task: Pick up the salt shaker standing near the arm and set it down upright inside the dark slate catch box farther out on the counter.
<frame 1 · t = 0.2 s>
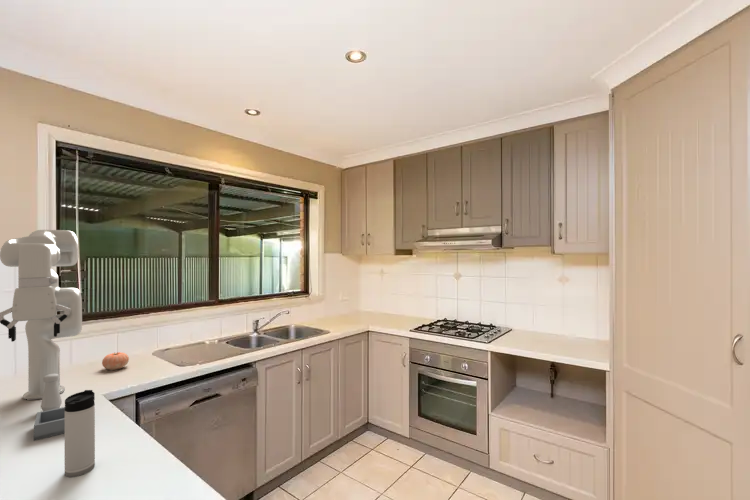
hand: (35, 338, 115), 31 cm above the counter, tool pointing down, fingers open, 9 cm apart
catch box: (60, 427, 121), on the counter
orange pumpkin: (115, 369, 181), on the counter
travel mug: (80, 470, 98), on the counter
salt shaker: (51, 410, 134), on the counter
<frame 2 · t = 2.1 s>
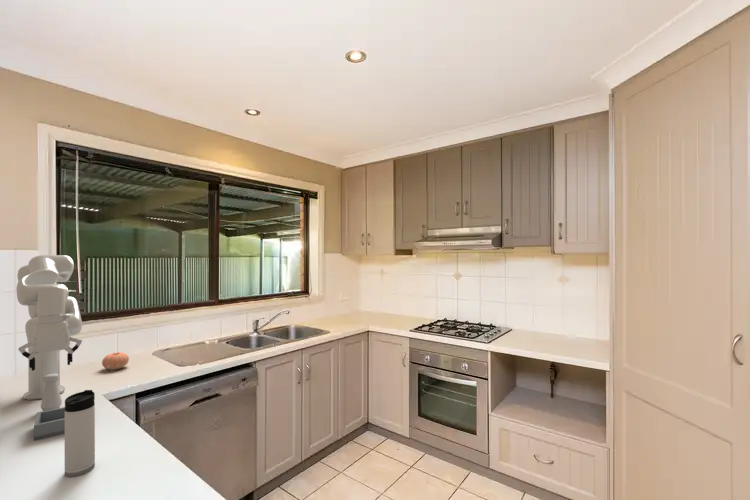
hand: (51, 366, 134), 16 cm above the counter, tool pointing down, fingers open, 9 cm apart
nothing on the counter moved.
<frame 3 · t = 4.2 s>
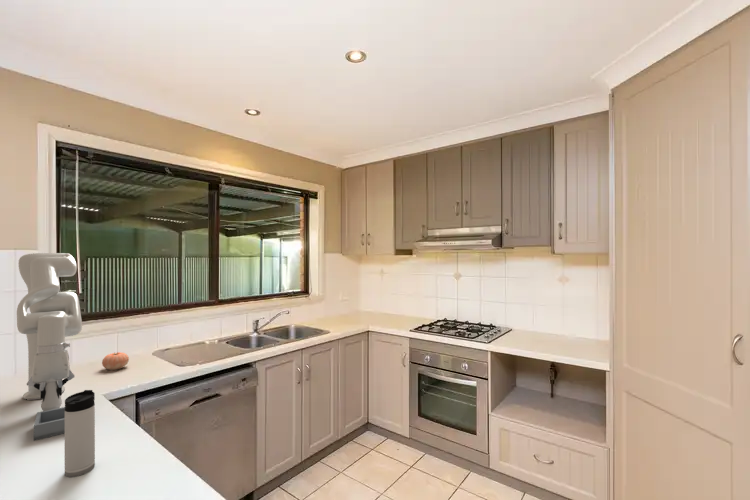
hand: (51, 398, 134), 4 cm above the counter, tool pointing down, fingers closed on salt shaker, 3 cm apart
salt shaker: (51, 410, 134), on the counter, touching gripper
everything else where it was.
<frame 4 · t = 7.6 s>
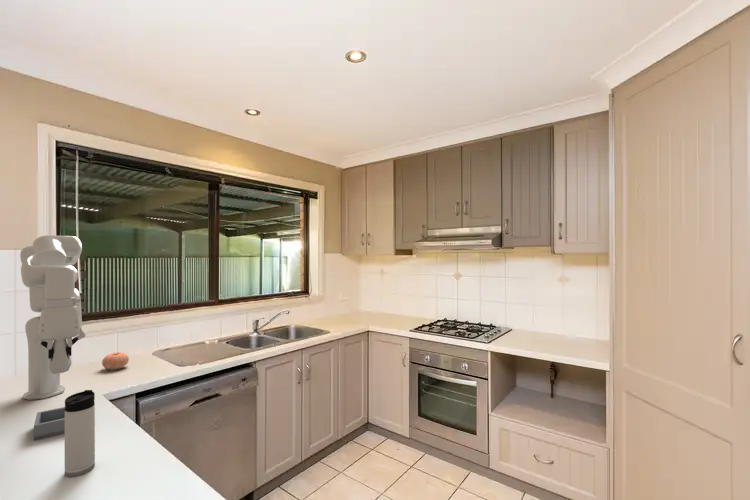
hand: (60, 359, 122), 22 cm above the counter, tool pointing down, fingers closed on salt shaker, 3 cm apart
salt shaker: (60, 372, 122), point 18 cm above the counter, touching gripper
everything else where it was.
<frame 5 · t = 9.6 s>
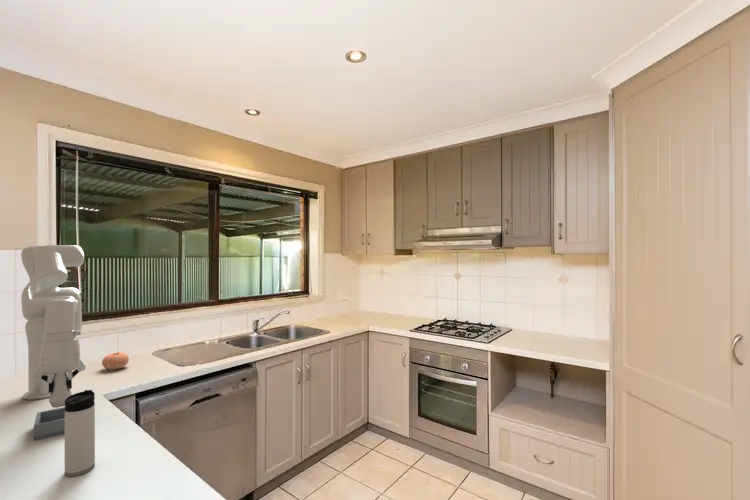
hand: (60, 392, 121), 12 cm above the counter, tool pointing down, fingers closed on salt shaker, 3 cm apart
salt shaker: (60, 405, 121), point 7 cm above the counter, touching gripper
everything else where it was.
when the fingers open (7 cm above the counter, at t = 11.2 s): salt shaker drops 2 cm, resting on catch box.
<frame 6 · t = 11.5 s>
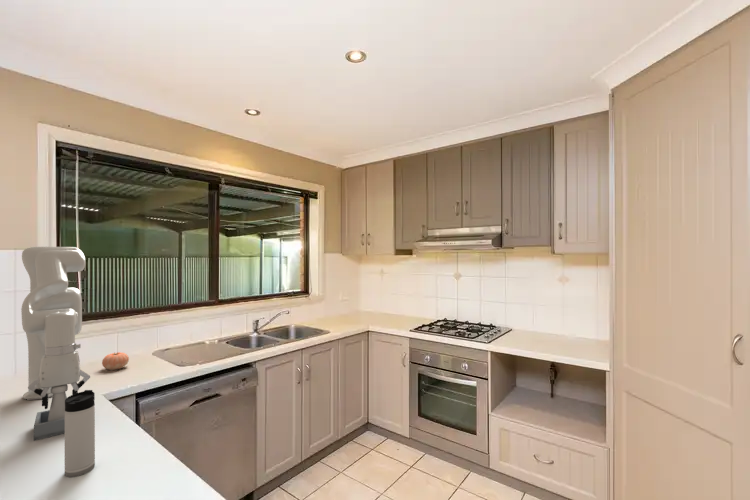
hand: (60, 404, 121), 8 cm above the counter, tool pointing down, fingers open, 6 cm apart
salt shaker: (59, 425, 121), point 1 cm above the counter, touching catch box
everything else where it was.
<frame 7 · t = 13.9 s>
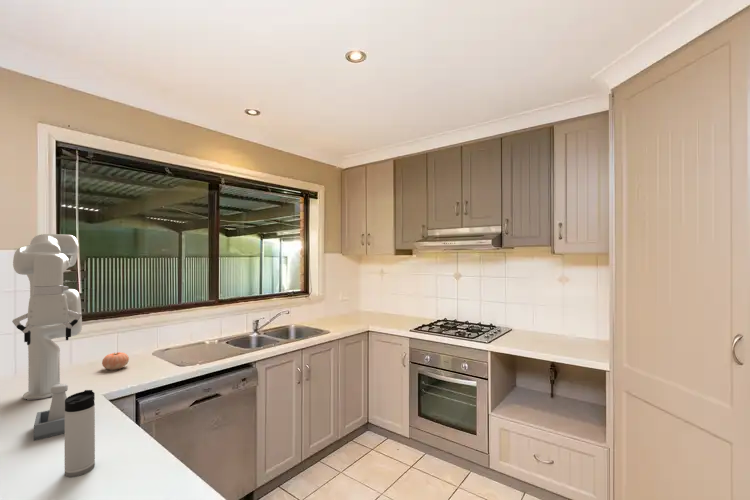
hand: (48, 341, 124), 27 cm above the counter, tool pointing down, fingers open, 9 cm apart
nothing on the counter moved.
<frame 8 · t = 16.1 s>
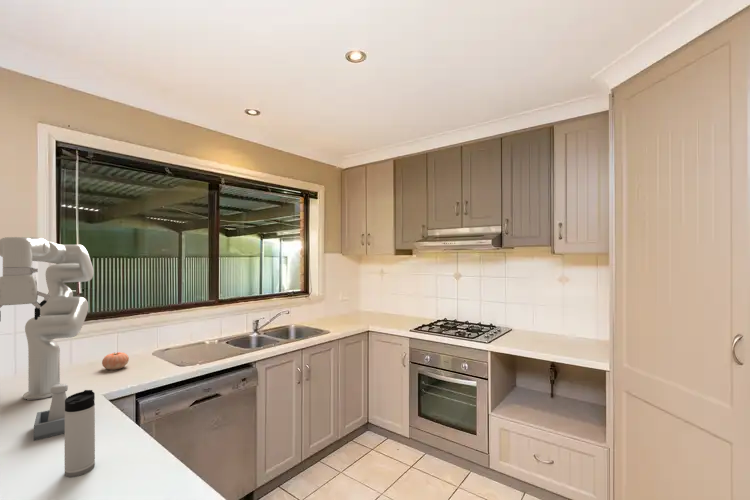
hand: (17, 320, 130), 33 cm above the counter, tool pointing down, fingers open, 9 cm apart
nothing on the counter moved.
at the end: salt shaker 0.2 cm off-centre on the catch box, point 0.8 cm above the catch box's base; salt shaker tilted 0°; the gripper is holding nothing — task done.
